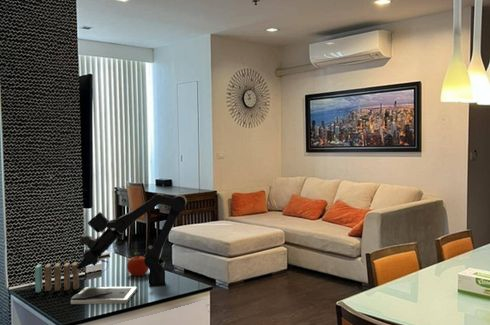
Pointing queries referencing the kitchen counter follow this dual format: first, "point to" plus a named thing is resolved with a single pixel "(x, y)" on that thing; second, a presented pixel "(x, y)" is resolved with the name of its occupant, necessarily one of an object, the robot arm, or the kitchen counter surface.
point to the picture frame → (104, 295)
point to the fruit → (137, 265)
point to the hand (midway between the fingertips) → (77, 268)
